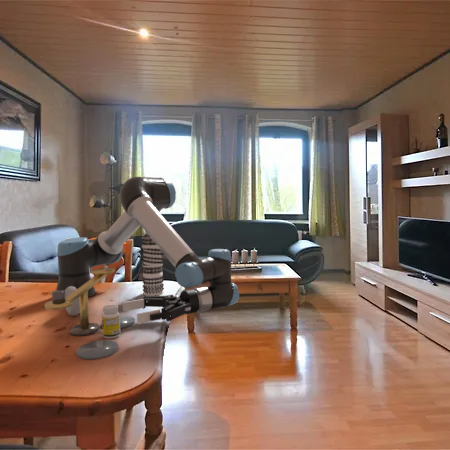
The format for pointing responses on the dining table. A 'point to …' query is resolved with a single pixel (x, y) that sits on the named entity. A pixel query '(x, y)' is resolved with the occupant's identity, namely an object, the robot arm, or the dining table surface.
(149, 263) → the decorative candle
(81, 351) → the dish low
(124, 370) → the dining table surface
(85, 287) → the balance
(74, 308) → the donut
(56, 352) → the dining table surface
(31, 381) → the dining table surface
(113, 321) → the supplement bottle
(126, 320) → the glossy grey puck
